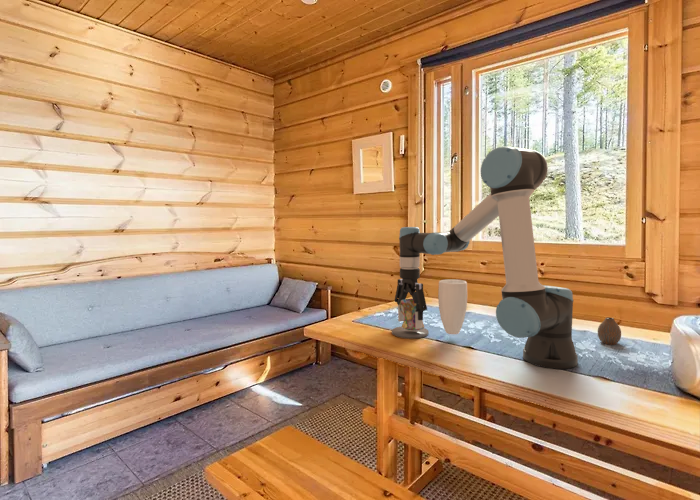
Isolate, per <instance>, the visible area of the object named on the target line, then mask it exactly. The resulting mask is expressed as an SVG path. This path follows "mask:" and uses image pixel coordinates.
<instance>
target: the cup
mask: <svg viewBox="0 0 700 500" xmlns="http://www.w3.org/2000/svg"><path fill="white" fill-rule="evenodd" d="M437 291H438V293H437V294H438V296H437V297H438V298H437V299H438V311H439V316H440V320H441V323H442V326H443V328H444V331H445V333H446V334H448V335H459V333H460V332H461V330H462V327H463V324H464V321H465V318H466V313H467V308H468V282H467V281H466V280H462V279H453V278H452V279H451V278H449V279H441V280H439V281H438V290H437Z"/></svg>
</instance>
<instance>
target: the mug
mask: <svg viewBox="0 0 700 500" xmlns="http://www.w3.org/2000/svg"><path fill="white" fill-rule="evenodd" d="M401 304H402V307H403V311H404V312H403V311H402V309H401ZM399 308H400V310H401V312H402V314H403V315H404V321H402V324H401V326H402V327H403V328H404V329H407V330H421V329H423V328H425V325H424V323H423V328H420V329H415V311H416V310H417V309H416V304H414V301H413V298H406V299H403V300H401V301H400V304H399Z"/></svg>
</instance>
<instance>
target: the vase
mask: <svg viewBox="0 0 700 500" xmlns="http://www.w3.org/2000/svg"><path fill="white" fill-rule="evenodd" d="M597 337H598V339H599V341H600V342H601V343H602V344H605V345H611V346H613V345H614V346H615V345H617V344H618V343H619V342H620V341H621V337H622V330H621V328H620V325H619V324H618V323H617V322H616V321H615V318H614V317H605V319H604V320H603V321H602V322H601V323H600V324H599V325H598V328H597Z"/></svg>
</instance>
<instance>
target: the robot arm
mask: <svg viewBox="0 0 700 500" xmlns="http://www.w3.org/2000/svg"><path fill="white" fill-rule="evenodd" d="M548 168H549V167H548V161H547V159H546V158H545V156H544V155H543V154H542V153H541V152H539V151H537V150H535V149H532V148H521V147H516V146H511V145H509V146H505V145H504V146H499V147H496V148H493V149H492V150H490V151H489V152H488V153H487V154H486V155H485V158H484V159H483V161H482V162H481V165H480V177H481V180H482V182H483V183H484V184H485V185H486V186H487V187H489V188H490V193H489V194H488V195H487V196H486V197H485V198H484V199H483V200H482V201H480V202H479V203H478V204H477V205H476V206H475V207H474V208H472V209H471V211H469V212H468V213H467V214H466V215H465V216H464V217H463V218H462V219H461V220H460V221H458V222H457V224H456V225H455V226H453V227H452V228H451V229H450V230H449V231H448V230H447V231H441V232H421V230H420V228H419V226H402V227H400V229H399V237H398V241H399V278H398V279H397V287H396V291H395V296H394V302H395V303H396V305H397V313H398V315H397V318H398V320H397V321H398V323H400V322H403V321H404V315H403V314H402V312H401V310H400V308H399V304H400V301H401V300H403V299H407V298H408V297H407V296H408V294H409V295H410V296H411V299H413V301H414V304H416V309H417V310H416V311H415V329H420V328H423V324H424V322H423V321H424V311H427V310H428V306H427V301H426V298H425V292H424V283H421V282H420V283H418V279H419V278H420V277H421V269H420V265H421V264H420V263H421V262H420V257H421V255H420V254H426V255H431V256H434V255H435V256H436V255H437V256H438V255H439V256H440V255H442V254H444V253H450V252H451V253H452V252H461V251H464V250H466V249H467V248H468V247H469V244H470V241H471V240H472V239H473V238H474V237H476V236H477V235H478V234H480V232H482V231H483V230H484V229H485V228H487V227H488V226H489V225H490V224H491V223H492V222H494V221H495V220H496V219H497V218H498V219H499V221H498V222H499V229H500V238H501V239H500V240H501V248H502V256H503V266H504V274H505V285H504V286H503V287H502V288H501V298H502V299H501V300H500V301H499V303H498V304H497V305H496V309H495V316H496V321H497V323H498V325H499V326H500V328H501V330H504V332H505V333H506V334H507V335H509V336H512V337H514V338H518V339H525V338H527V339H526V340H525V341H526V342H525V344H524V347H523V349H522V352H523V353H522V358H523V360H525V361H526V362H527V363H529V364H532V365H535V366H539V367H542V368H547V369H559V370H560V369H561V370H563V369H572V368H575V367H576V366H578V360H579V358H578V354H577V351H576V347H575V345H574V341H573V335H572V334H573V332H572V331H573V311H574V310H573V309H574V308H573V307H574V296H573V291H572V290H571V289H570V288H568V287H560V286H555V285H554V286H553V285H545V284H544V285H543V284H542V283H540V280H539V275H538V274H539V271H538V266H537V265H538V264H537V263H538V262H537V255H536V248H535V247H536V246H535V239H534V229H533V220H532V211H531V204H530V203H531V201H530V198H531V196H532V195H533V193H534V192H535V191H536V190H537V189H538V188H539V187H540V186H541V185H542V183H543V182H544V181H545V179H546V178H547V175H548V172H549V171H548ZM401 309H402V311H403V307H402V304H401ZM403 312H404V311H403Z"/></svg>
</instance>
